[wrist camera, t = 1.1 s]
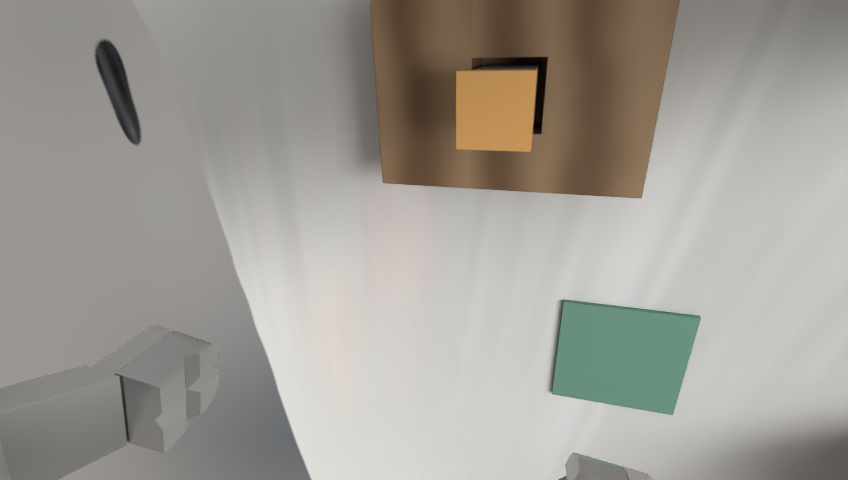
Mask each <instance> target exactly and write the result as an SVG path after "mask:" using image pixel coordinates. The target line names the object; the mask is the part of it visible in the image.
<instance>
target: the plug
mask: <svg viewBox="0 0 848 480" xmlns="http://www.w3.org/2000/svg"><path fill="white" fill-rule="evenodd" d="M540 65H541V62H537V63H489V64H487V65H484V66H482V67H479V68H477V69H474V70H459V71H456V149H464V150H492V151H520V152H531V148H532V136H533V126H534V122H535V119H536V115H537V103H538V91H539V78H540Z"/></svg>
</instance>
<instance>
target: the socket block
mask: <svg viewBox="0 0 848 480" xmlns="http://www.w3.org/2000/svg"><path fill="white" fill-rule="evenodd" d="M679 2H680V0H370V9H371V23H372V37H373V52H374V66H375V80H376V94H377V108H378V122H379V137H380V151H381V165H382V179H383V183H390V184H407V185H424V186H441V187H458V188H474V189H491V190H508V191H525V192H542V193H559V194H576V195H593V196H610V197H626V198H642V193H643V188H644V183H645V178H646V173H647V167H648V162H649V157H650V152H651V147H652V142H653V136H654V131H655V126H656V121H657V116H658V110H659V105H660V100H661V95H662V90H663V85H664V79H665V74H666V69H667V64H668V59H669V53H670V48H671V43H672V38H673V33H674V28H675V22H676V17H677V12H678V7H679ZM537 62H541V65H540V78H539V91H538V103H537V115H536V119H535V122H534V126H533V136H532V148H531V152H520V151H492V150H464V149H456V71H459V70H474V69H477V68H479V67H482V66H484V65H487V64H489V63H537Z"/></svg>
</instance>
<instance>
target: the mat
mask: <svg viewBox="0 0 848 480" xmlns="http://www.w3.org/2000/svg"><path fill="white" fill-rule="evenodd" d="M700 319H701V318H700V316H695V315H687V314H678V313H670V312H661V311H653V310H645V309H636V308H628V307H620V306H611V305H603V304H594V303H586V302H578V301H569V300H564V301H563V309H562V317H561V325H560V333H559V341H558V349H557V357H556V365H555V373H554V380H553V388H552V394H554V395H560V396H566V397H572V398H577V399H583V400H589V401H595V402H600V403H606V404H612V405H618V406H623V407H629V408H635V409H641V410H646V411H652V412H658V413H663V414H669V415H673V413H674V409H675V406H676V402H677V399H678V395H679V392H680V388H681V385H682V381H683V378H684V374H685V371H686V368H687V364H688V361H689V357H690V354H691V350H692V347H693V343H694V340H695V336H696V333H697V330H698V326H699V323H700Z"/></svg>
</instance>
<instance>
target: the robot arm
mask: <svg viewBox="0 0 848 480" xmlns="http://www.w3.org/2000/svg"><path fill="white" fill-rule="evenodd" d="M217 359H219V353H218V346H217V345H215V344H214V343H211V342H207V341H204V340H202V339H199V338H196V337H193V336H190V335H187V334H184V333H181V332H178V331H173V330H170V329H167V328H164V327H161V326H158V325H156V326H150V327H148V328H147V329H145V330H144V331H142V332H141V333H139V334H138V335H137V336H135V337H134V338H132V339H131V340H129V341H128V342H126V343H125V344H123V345H122V346H121V347H119V348H118V349H116V350H115V351H114V352H112V353H111V354H109V355H108V356H106V357H105V358H103V359H102V360H100V361H99V362H97V363H96V364H95V365H93V366H92V367H90V366H86V365H83V366H79V367H76V368H72V369H68V370H65V371H61V372H57V373H54V374H50V375H46V376H43V377H39V378H36V379H32V380H28V381H24V382H21V383H17V384H13V385H10V386H6V387H2V388H0V480H58V479H60V478H62V477H64V476H66V475H68V474H70V473H72V472H74V471H76V470H78V469H80V468H82V467H84V466H86V465H88V464H90V463H92V462H94V461H96V460H98V459H100V458H102V457H104V456H106V455H108V454H110V453H112V452H114V451H116V450H118V449H120V448H122V447H124V446H126V445H127V442H129V443H132V444H135V445H138V446H142V447H145V448H148V449H152V450H155V451H158V452H161V453H165V452H166V451H167V450H168V449H169V448H170V447H171V446H172V445H173V443H175V441H176V440H177V439H178V438H179V437H180V436H181V435H182V434H183V433H184V432H185V431H186V430H187V420H188V419H190V418H193V417H195V416H197V415H200V414H201V413H202V412H203V411H204V410H205V409H206V408H207V406H208V405H209V404H210V402H211V400H212V398H213V397H214V395H215V393H216V390H217V386H218V382H219V373H218V372H217V370H216V368H215V367H214V365H213V363H214V362H215V361H217ZM565 467H566V475H567V476H565V477H563V478H561V479H559V480H652V479H651V478H650V476H649V475H648V474H646V473H643V472H639V471H636V470H632V469H629V468H626V467H620V466H618V465H615V464H611V463H608V462H604V461H601V460H598V459H594V458H591V457H587V456H584V455H581V454H577V453H574V452H573V453H572V454H571V455H570V456H569V458H568V460H567V462H566V464H565Z"/></svg>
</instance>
